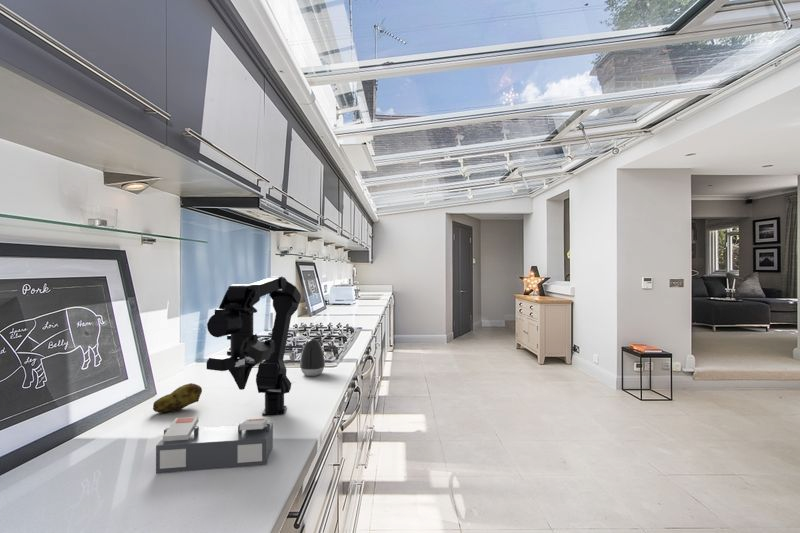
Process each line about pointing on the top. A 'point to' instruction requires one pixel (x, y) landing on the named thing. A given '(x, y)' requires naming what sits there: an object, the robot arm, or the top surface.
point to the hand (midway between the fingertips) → (241, 389)
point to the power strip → (215, 449)
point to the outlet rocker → (180, 429)
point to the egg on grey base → (312, 358)
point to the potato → (178, 398)
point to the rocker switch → (253, 424)
